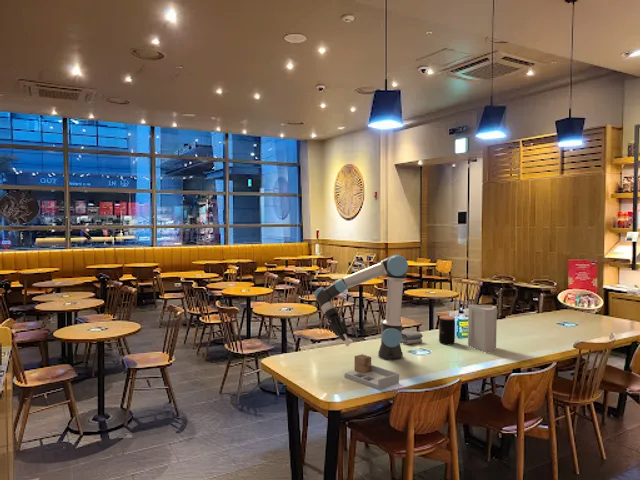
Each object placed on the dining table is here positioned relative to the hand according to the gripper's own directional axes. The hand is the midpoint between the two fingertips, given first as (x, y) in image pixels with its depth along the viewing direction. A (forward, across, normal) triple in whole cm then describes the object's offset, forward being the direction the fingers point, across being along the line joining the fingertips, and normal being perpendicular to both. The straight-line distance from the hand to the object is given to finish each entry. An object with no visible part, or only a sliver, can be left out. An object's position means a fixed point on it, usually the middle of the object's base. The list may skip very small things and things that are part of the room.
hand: (348, 344), depth 263 cm
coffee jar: (+9, -94, -10) cm, 95 cm away
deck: (+24, +2, +4) cm, 25 cm away
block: (+17, 0, 0) cm, 17 cm away
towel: (-5, -76, -25) cm, 80 cm away
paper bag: (+27, -102, +8) cm, 106 cm away
